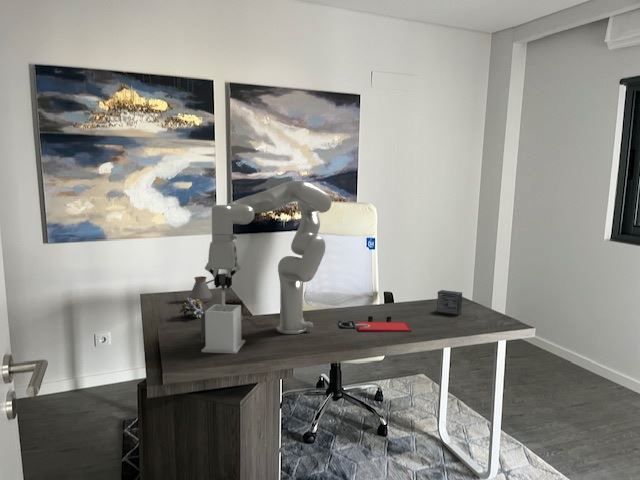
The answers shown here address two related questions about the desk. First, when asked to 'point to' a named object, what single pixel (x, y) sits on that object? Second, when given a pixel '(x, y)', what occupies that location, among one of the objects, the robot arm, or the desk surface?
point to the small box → (449, 302)
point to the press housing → (222, 329)
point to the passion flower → (193, 307)
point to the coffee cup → (236, 302)
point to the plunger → (222, 283)
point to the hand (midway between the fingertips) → (223, 286)
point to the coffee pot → (201, 290)
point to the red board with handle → (377, 326)
